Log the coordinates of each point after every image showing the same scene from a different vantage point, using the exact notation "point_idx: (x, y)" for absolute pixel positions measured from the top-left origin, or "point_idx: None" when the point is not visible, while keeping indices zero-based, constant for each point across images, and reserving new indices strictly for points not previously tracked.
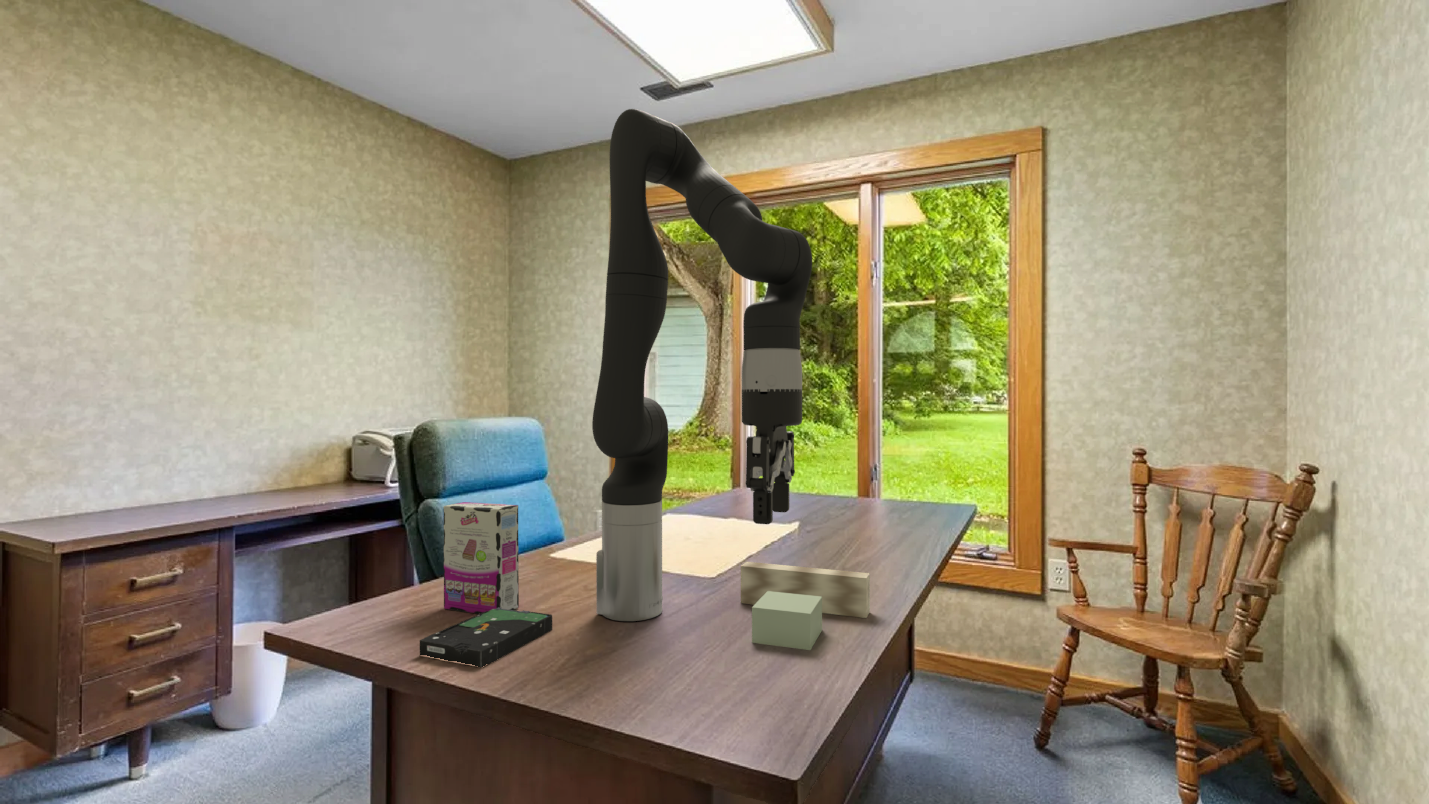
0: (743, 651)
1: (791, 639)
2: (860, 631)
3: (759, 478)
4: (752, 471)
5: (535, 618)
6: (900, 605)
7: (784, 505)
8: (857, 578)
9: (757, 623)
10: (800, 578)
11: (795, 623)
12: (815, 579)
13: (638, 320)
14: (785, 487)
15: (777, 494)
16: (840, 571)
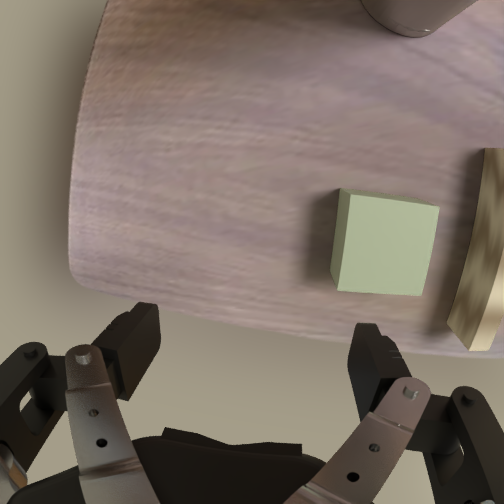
0: (303, 182)
1: (335, 248)
2: (403, 321)
3: (31, 396)
4: (24, 391)
5: None
6: None
7: (352, 367)
8: (472, 339)
9: (344, 200)
10: (495, 252)
11: (338, 261)
12: (489, 276)
13: None
14: (361, 411)
15: (365, 370)
16: (499, 313)
